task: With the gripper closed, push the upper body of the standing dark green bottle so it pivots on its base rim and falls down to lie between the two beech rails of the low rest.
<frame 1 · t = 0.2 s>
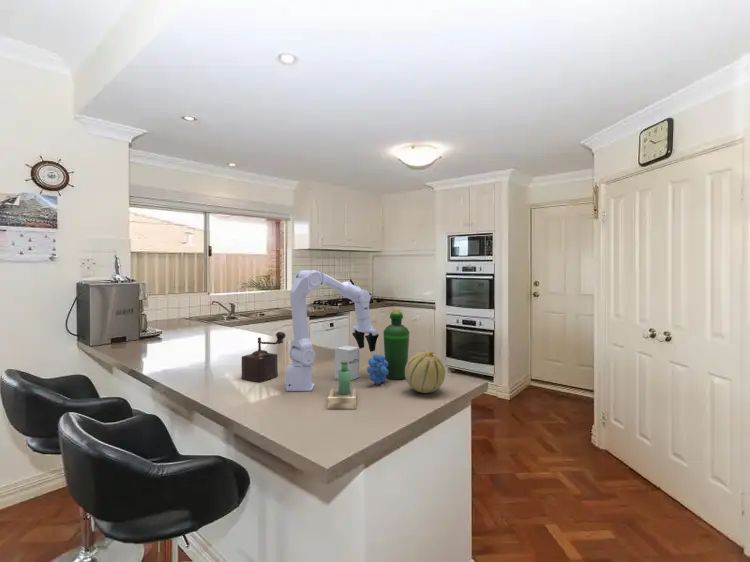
hand: (367, 349, 170), 11 cm above the table, tool pointing down, fingers open, 7 cm apart
cantaloupe: (424, 392, 147), on the table
supplement box: (347, 378, 165), on the table
beech rest: (342, 401, 137), on the table
bottle: (396, 377, 166), on the table
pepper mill: (264, 377, 167), on the table
green bottle: (344, 392, 146), on the table
grapes: (379, 385, 156), on the table
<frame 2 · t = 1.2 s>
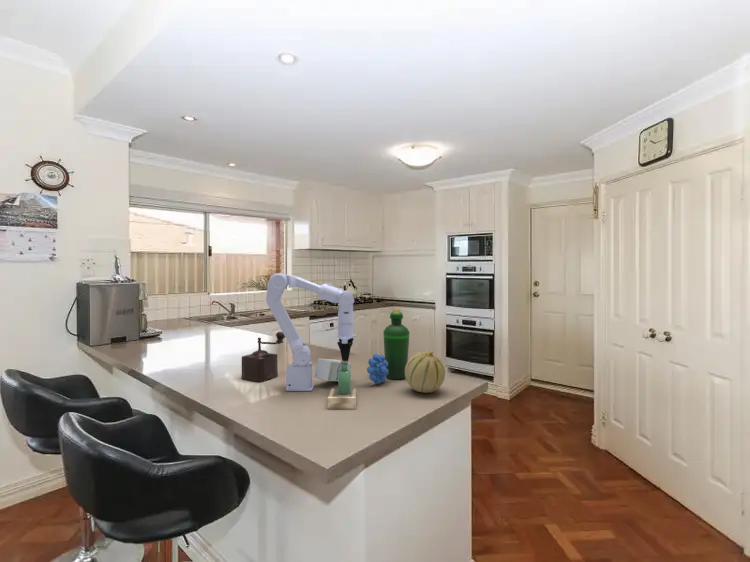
hand: (345, 359, 153), 10 cm above the table, tool pointing down, fingers open, 5 cm apart
supplement box: (344, 370, 163), point 4 cm above the table, touching arm
everything else where it was.
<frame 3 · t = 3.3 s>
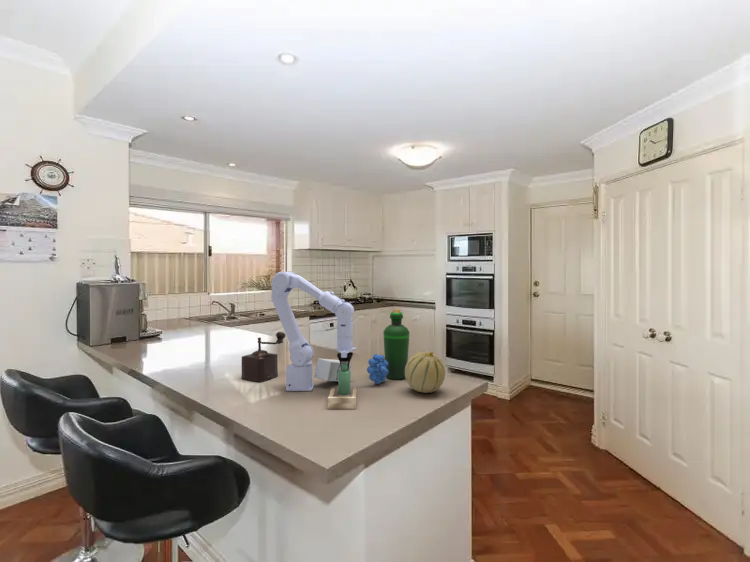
hand: (345, 372, 149), 6 cm above the table, tool pointing down, fingers closed
green bottle: (344, 392, 146), on the table, touching gripper
everything else where it was.
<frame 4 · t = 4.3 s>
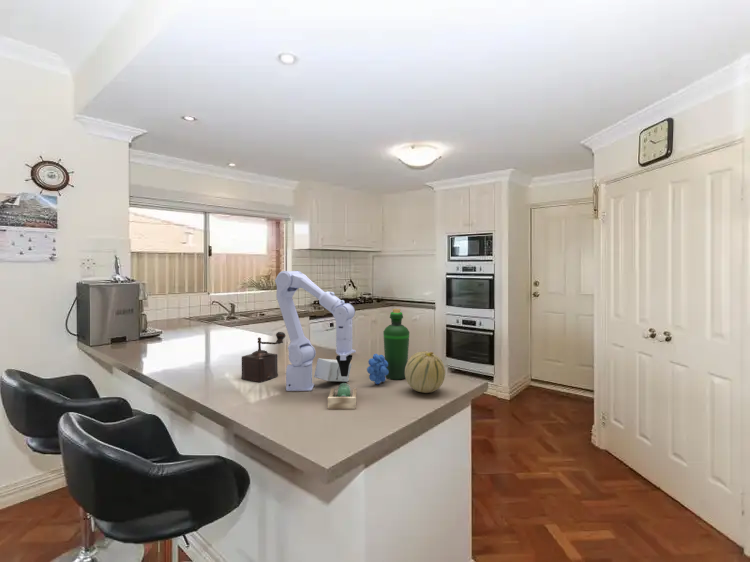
hand: (344, 376, 145), 6 cm above the table, tool pointing down, fingers closed
green bottle: (344, 389, 144), point 2 cm above the table, tilted 90°
everything else where it was.
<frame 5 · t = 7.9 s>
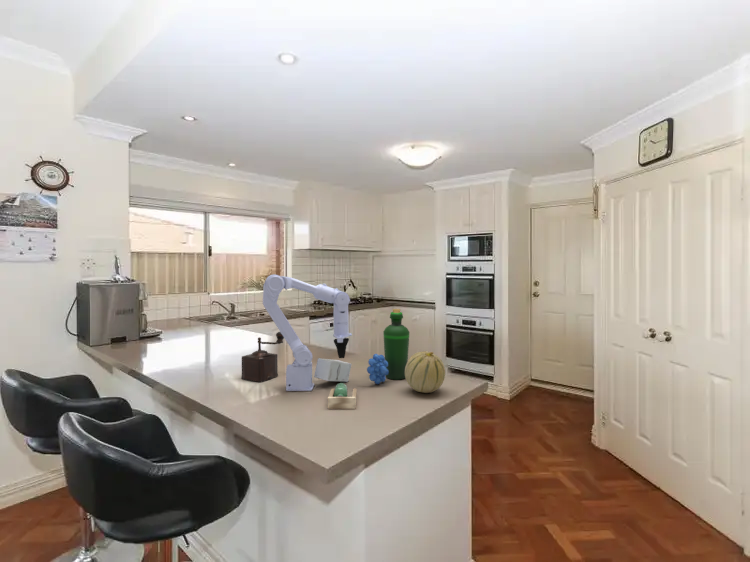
hand: (341, 357, 155), 10 cm above the table, tool pointing down, fingers closed
green bottle: (341, 389, 144), point 2 cm above the table, tilted 90°
everything else where it was.
at the end: green bottle tilted 90°; green bottle inside the target area (1.6 cm from its centre), point 2.1 cm above the table; green bottle touching table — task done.
